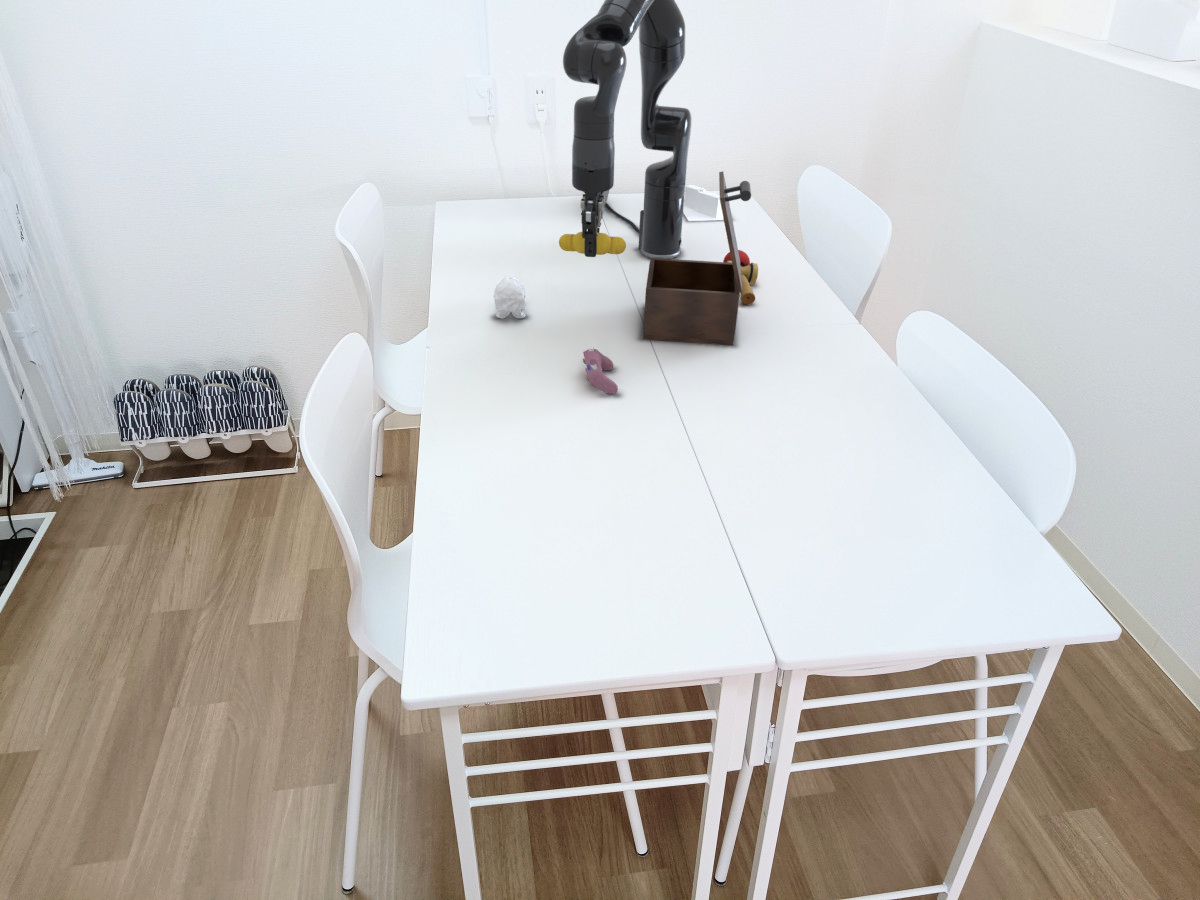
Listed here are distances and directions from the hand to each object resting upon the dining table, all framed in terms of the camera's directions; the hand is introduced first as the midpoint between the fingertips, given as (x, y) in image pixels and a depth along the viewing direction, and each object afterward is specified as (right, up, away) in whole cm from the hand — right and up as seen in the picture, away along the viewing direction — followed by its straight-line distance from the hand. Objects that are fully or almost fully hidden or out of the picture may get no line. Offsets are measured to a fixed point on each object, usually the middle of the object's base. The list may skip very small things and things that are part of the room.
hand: (591, 250), depth 164 cm
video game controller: (+1, -26, -6) cm, 26 cm away
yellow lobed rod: (0, 0, 0) cm, 1 cm away
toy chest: (+20, -12, +13) cm, 26 cm away
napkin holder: (+29, +26, +67) cm, 77 cm away
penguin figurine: (-17, -9, +16) cm, 25 cm away
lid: (+26, +4, 0) cm, 26 cm away
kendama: (+33, -2, +28) cm, 43 cm away
